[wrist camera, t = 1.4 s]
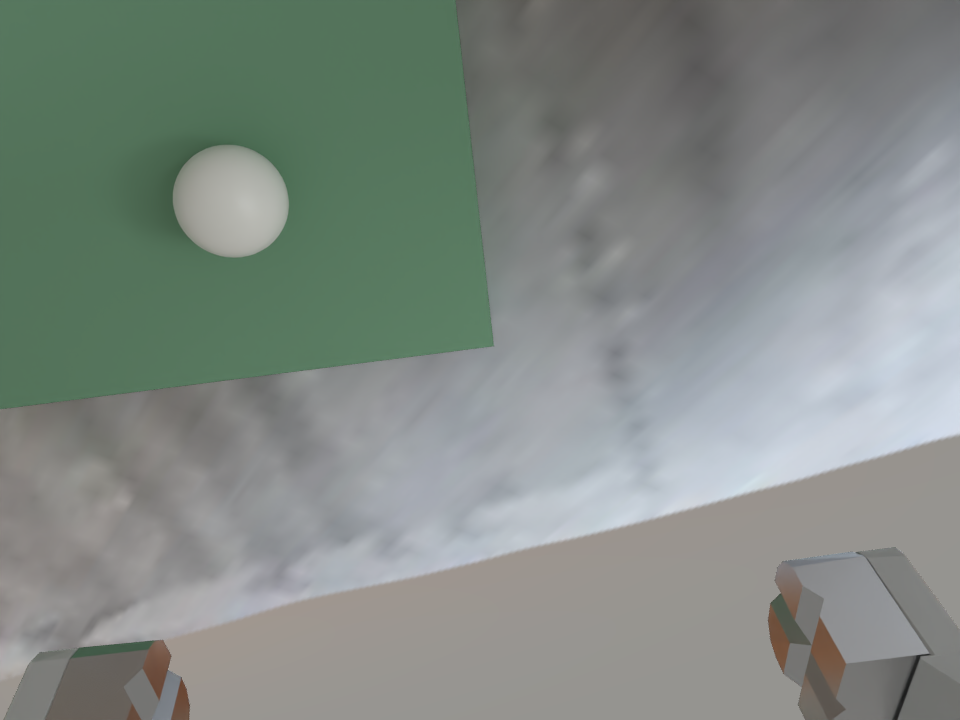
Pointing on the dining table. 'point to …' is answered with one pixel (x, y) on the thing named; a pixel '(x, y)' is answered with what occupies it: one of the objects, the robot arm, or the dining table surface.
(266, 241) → the ball
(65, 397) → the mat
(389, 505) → the dining table surface
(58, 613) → the dining table surface
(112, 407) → the dining table surface
